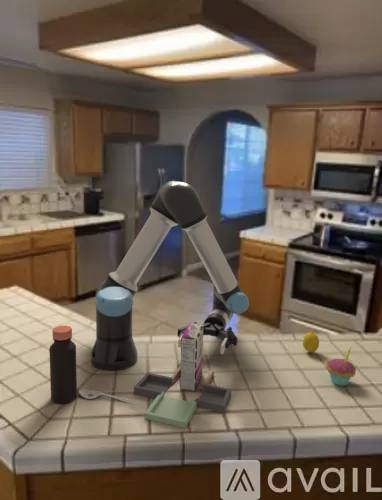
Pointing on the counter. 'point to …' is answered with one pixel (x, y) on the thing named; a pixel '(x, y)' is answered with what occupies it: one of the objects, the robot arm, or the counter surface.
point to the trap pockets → (209, 399)
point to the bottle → (63, 366)
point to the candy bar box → (191, 356)
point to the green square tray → (171, 411)
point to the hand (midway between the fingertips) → (200, 346)
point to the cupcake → (341, 370)
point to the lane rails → (180, 372)
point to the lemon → (311, 342)
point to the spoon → (97, 393)
